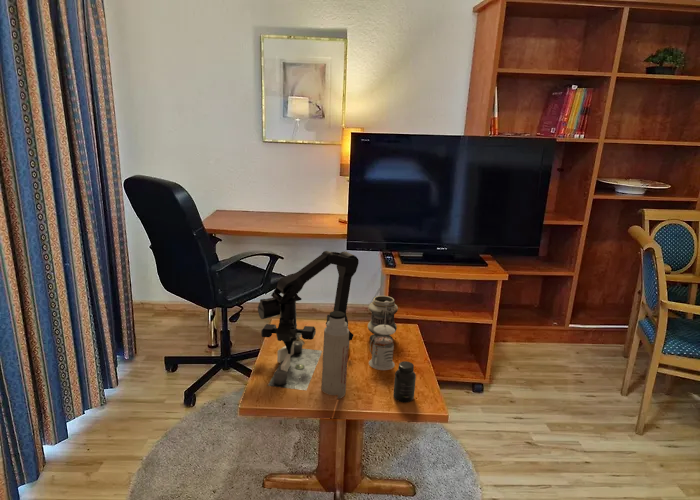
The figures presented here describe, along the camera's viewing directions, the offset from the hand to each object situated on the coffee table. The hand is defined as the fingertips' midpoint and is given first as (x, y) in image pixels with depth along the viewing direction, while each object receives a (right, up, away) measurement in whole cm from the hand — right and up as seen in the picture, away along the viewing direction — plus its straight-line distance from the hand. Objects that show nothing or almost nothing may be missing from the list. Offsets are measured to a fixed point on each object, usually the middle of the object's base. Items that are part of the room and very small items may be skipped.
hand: (289, 353), depth 175 cm
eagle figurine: (+1, -1, +15) cm, 15 cm away
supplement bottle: (+40, -11, -16) cm, 44 cm away
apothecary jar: (+35, 0, +26) cm, 44 cm away
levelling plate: (+3, -5, -3) cm, 7 cm away
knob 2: (-1, -5, -10) cm, 11 cm away
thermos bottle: (+17, -10, -16) cm, 25 cm away
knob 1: (0, -1, +4) cm, 4 cm away
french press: (+33, -5, +5) cm, 34 cm away
